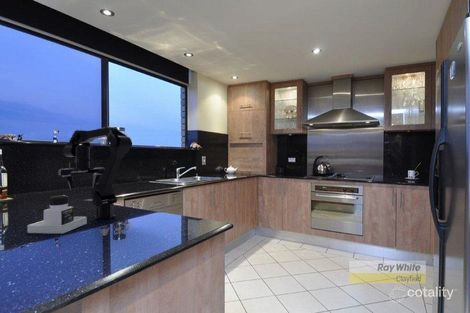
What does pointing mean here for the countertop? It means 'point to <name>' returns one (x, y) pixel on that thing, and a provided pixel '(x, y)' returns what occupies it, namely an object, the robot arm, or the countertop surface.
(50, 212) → the medicine bottle
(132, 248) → the countertop surface
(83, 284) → the countertop surface
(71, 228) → the grey square tray
